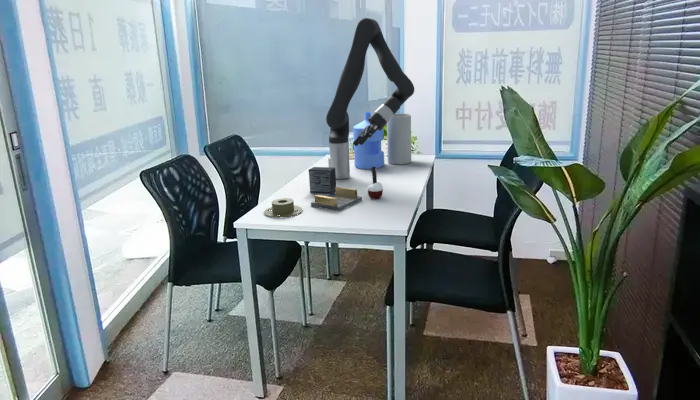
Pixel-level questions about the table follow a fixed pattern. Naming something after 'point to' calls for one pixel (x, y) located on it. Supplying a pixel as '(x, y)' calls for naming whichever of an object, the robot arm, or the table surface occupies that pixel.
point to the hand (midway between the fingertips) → (357, 144)
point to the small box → (322, 180)
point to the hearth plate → (337, 199)
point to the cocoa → (375, 187)
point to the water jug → (368, 147)
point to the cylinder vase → (399, 139)
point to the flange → (283, 208)
